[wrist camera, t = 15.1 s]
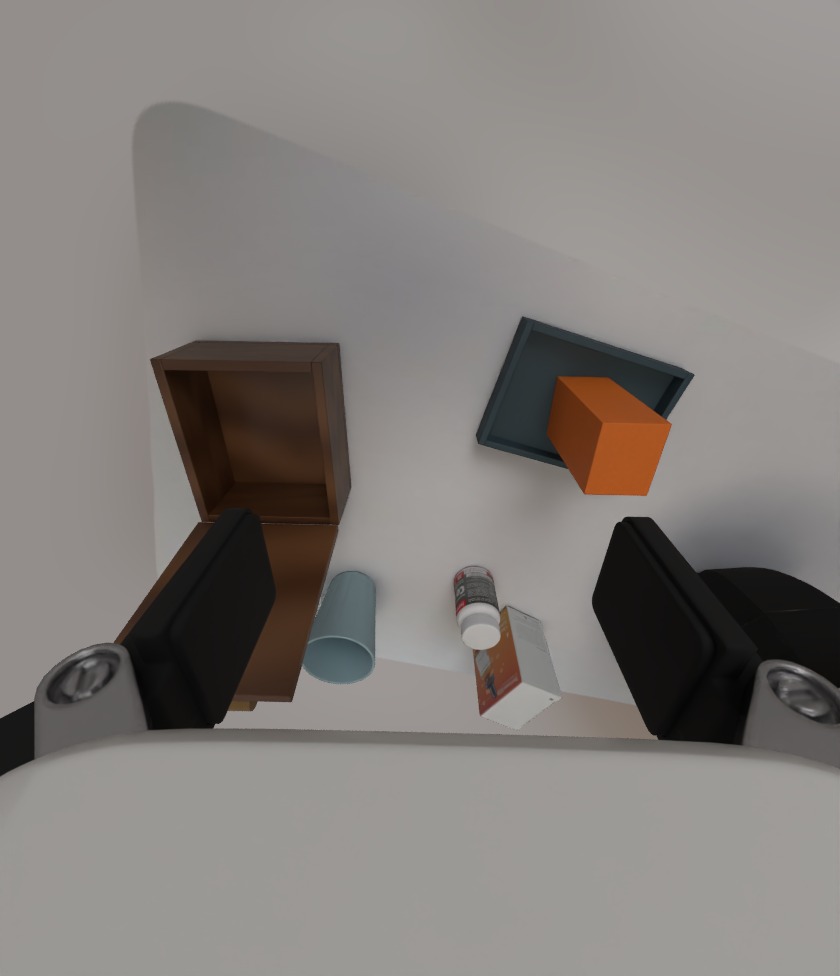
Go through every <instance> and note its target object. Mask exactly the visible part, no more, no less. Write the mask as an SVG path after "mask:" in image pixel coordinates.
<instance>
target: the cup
mask: <svg viewBox="0 0 840 976" xmlns="http://www.w3.org/2000/svg"><path fill="white" fill-rule="evenodd" d="M375 606H376V589H375V585H374V583H373V581H372V580H371V579H370V578H369V577H367V576H366V575H364V574H361V573H358V572H344V573H342V574H339V575H337V576H336V577H335V578H334V579H333V581H332V583H331V585H330V587H329V589H328V591H327V593H326V596H325V598H324V600H323V602H322V604H321V607H320V609H319V611H318V613H317V616H316V618H315V620H314V623H313V626H312V630H311V634H310V637H309V641H308V645H307V648H306V652H305V656H304V659H303V663H302V666H303V668H304V669H305V670H306V671H307V672H308V673H309V674H310V675H312V676H313V677H315V678H317V679H319V680H321V681H324V682H328V683H333V684H350V683H355V682H358V681H361V680H363V679H365V678H366V677H368V676H369V675H370V674H371V673H372V671H373V669H374V667H375Z"/></svg>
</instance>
